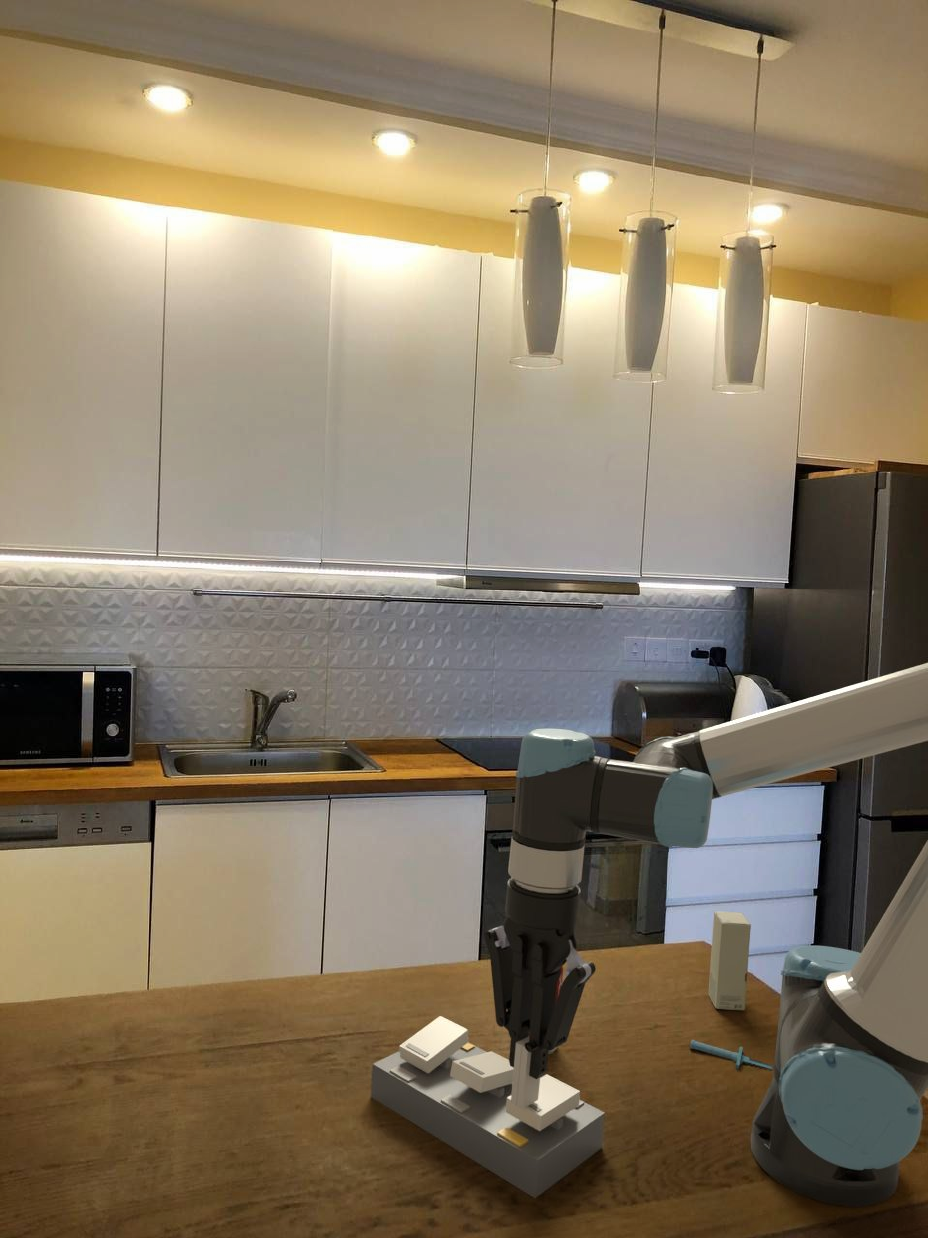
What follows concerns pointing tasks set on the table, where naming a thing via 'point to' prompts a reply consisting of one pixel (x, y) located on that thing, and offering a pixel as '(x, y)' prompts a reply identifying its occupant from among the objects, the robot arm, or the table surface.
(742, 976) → the box
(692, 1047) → the knife
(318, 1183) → the table surface
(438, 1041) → the block
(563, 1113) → the rocker
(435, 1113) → the console
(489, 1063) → the rocker
